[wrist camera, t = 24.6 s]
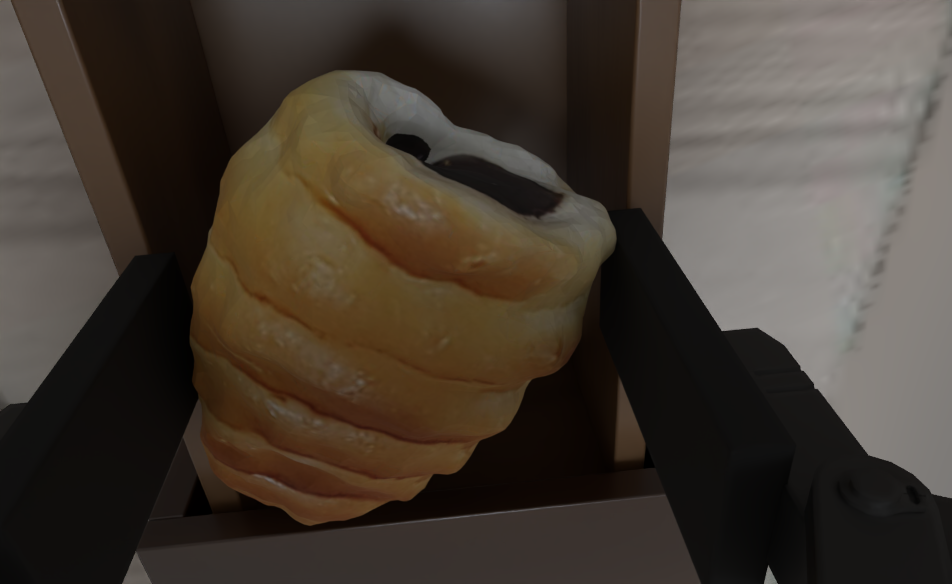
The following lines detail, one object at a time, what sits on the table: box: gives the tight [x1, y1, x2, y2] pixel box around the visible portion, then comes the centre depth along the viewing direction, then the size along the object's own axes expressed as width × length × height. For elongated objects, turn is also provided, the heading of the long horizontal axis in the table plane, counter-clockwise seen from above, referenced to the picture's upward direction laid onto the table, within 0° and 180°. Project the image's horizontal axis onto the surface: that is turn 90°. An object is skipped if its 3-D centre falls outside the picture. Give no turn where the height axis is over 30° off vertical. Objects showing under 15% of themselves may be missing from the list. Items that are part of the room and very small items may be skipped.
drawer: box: [11, 0, 681, 514], centre depth 16 cm, size 22×13×8 cm, turn 4°
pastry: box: [190, 70, 617, 526], centre depth 13 cm, size 9×7×4 cm
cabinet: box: [136, 437, 701, 584], centre depth 25 cm, size 18×14×10 cm
